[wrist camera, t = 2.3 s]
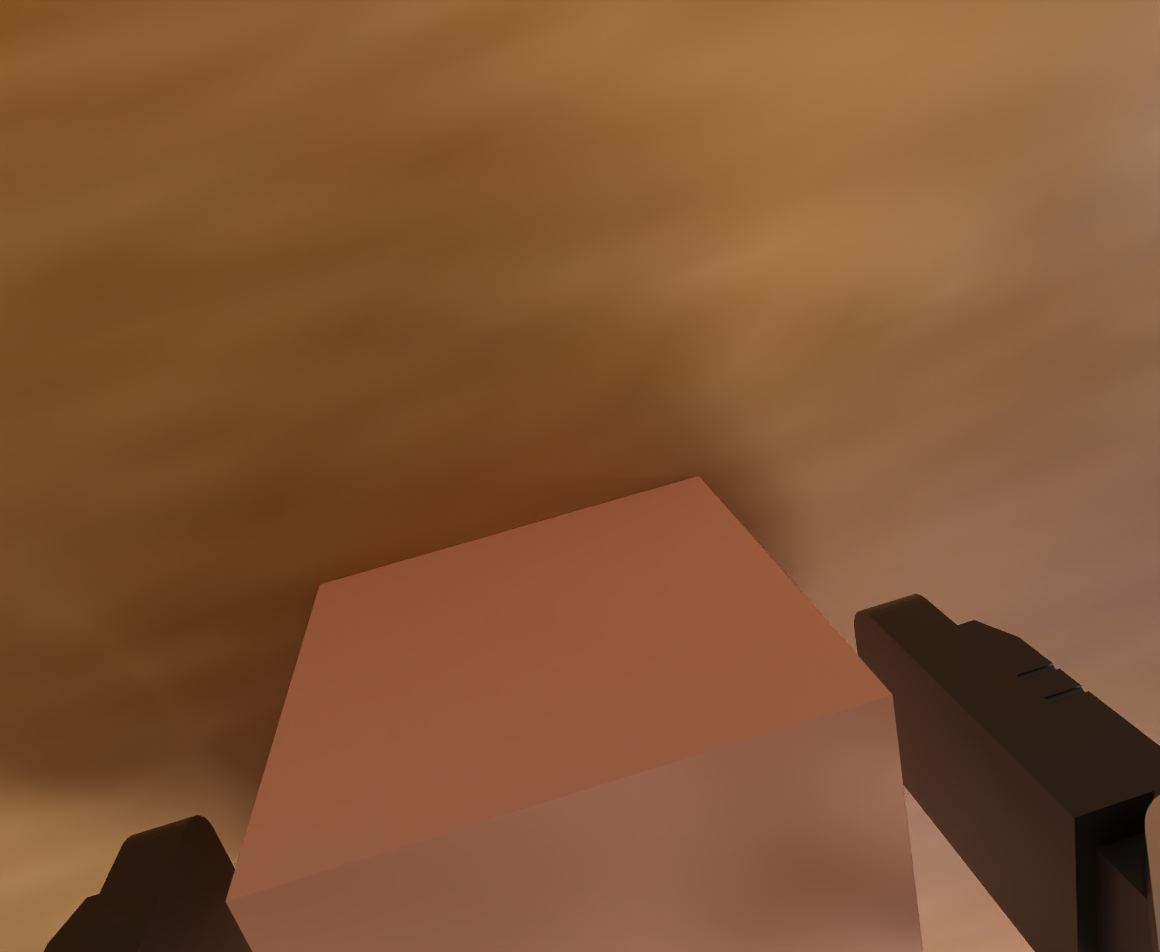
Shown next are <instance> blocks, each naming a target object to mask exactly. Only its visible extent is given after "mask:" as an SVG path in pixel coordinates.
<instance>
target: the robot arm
mask: <svg viewBox="0 0 1160 952" xmlns="http://www.w3.org/2000/svg"><path fill="white" fill-rule="evenodd" d="M854 629H855V637H856V644H857V651H858V656H859V657H860V658H861V660H862V661H863V662H864V663H865V664H866V665H867V666H868V667H869V669H870V670H871V671H872V672H873V673H874V674H875V675H876V676H877V678H878V679H879V680H880V681H881V682H882V683H883V684H884V686H885V687H886V688H887V689H888V690H889V691H890V692H891V693H892V695H893V703H894V712H895V720H896V729H897V737H898V745H899V754H900V762H901V771H902V779H903V784H904V786H905V787H906V788H907V789H908V791H909V792H910V793H911V795H912V796H913V797H914V798H915V800H916V801H917V802H918V803H919V805H920V806H921V807H922V809H923V810H924V811H925V812H926V814H927V815H928V816H929V817H930V819H931V820H932V821H933V823H934V824H935V825H936V826H937V828H938V829H939V830H940V831H941V833H942V834H943V835H944V837H945V838H946V839H947V840H948V842H949V843H950V844H951V845H952V847H953V848H954V849H955V851H956V852H957V853H958V854H959V856H960V857H961V858H962V859H963V861H964V862H965V863H966V865H967V866H968V867H969V868H970V870H971V871H972V872H973V873H974V875H975V876H976V877H977V879H978V880H979V881H980V882H981V884H982V885H983V886H984V887H985V889H986V890H987V891H988V893H989V894H990V895H991V896H992V898H993V899H994V900H995V901H996V903H997V904H998V905H999V907H1000V908H1001V909H1002V910H1003V912H1004V913H1005V914H1006V915H1007V917H1008V918H1009V919H1010V921H1011V922H1012V923H1013V924H1014V926H1015V927H1016V928H1017V930H1018V931H1019V932H1020V933H1021V935H1022V936H1023V937H1024V938H1025V940H1026V941H1027V942H1028V944H1029V945H1030V946H1031V947H1032V949H1033V950H1034V951H1035V952H1160V746H1159V745H1157V744H1156V743H1155V742H1154V741H1152V740H1151V739H1150V738H1148V737H1147V736H1146V735H1145V734H1143V733H1142V732H1141V731H1139V730H1138V729H1137V728H1135V727H1134V726H1133V725H1132V724H1130V723H1129V722H1128V721H1126V720H1125V719H1124V718H1123V717H1121V716H1120V715H1119V714H1117V713H1116V712H1115V711H1113V710H1112V709H1111V708H1110V707H1108V706H1107V705H1106V704H1104V703H1103V702H1102V701H1101V700H1099V699H1098V698H1097V697H1095V696H1094V695H1093V694H1092V693H1090V692H1089V691H1088V692H1084V691H1083V689H1082V687H1081V685H1080V684H1079V683H1077V682H1076V681H1075V680H1073V679H1072V678H1071V677H1070V676H1068V675H1067V674H1066V673H1064V672H1063V671H1062V670H1061V669H1057V670H1056V669H1055V668H1054V666H1053V663H1051V662H1050V661H1049V660H1048V659H1046V658H1045V657H1044V656H1042V655H1041V654H1040V653H1039V652H1037V651H1036V650H1035V649H1033V648H1032V647H1031V646H1029V645H1028V644H1027V643H1026V642H1024V641H1023V640H1022V639H1020V638H1019V637H1017V636H1014V635H1012V634H1009V633H1006V632H1004V631H1001V630H999V629H996V628H993V627H991V626H988V625H985V624H983V623H980V622H978V621H975V620H973V621H970V622H967V623H964V624H960V625H956V624H955V623H954V622H953V621H952V620H950V619H949V618H948V617H947V616H946V615H944V614H943V613H942V612H941V611H940V610H939V609H937V608H936V607H935V606H934V605H933V604H931V603H930V602H929V601H928V600H927V599H925V598H924V597H922V596H921V595H918V594H913V595H910V596H907V597H903V598H900V599H897V600H894V601H891V602H887V603H884V604H881V605H878V606H875V607H871V608H868V609H865V610H862V611H858V612H857V613H856V615H855V619H854ZM234 871H235V868H234V866H233V864H232V862H231V861H230V859H229V857H228V855H227V853H226V851H225V849H224V847H223V845H222V843H221V842H220V840H219V838H218V836H217V834H216V832H215V830H214V828H213V827H212V825H211V824H210V822H209V821H208V820H207V819H206V818H204V817H202V816H200V815H196V816H193V817H190V818H186V819H183V820H180V821H177V822H173V823H170V824H167V825H164V826H161V827H157V828H154V829H151V830H148V831H145V832H141V833H138V834H135V835H132V836H130V837H129V838H127V840H126V841H125V842H124V843H123V845H122V847H121V849H120V851H119V853H118V855H117V857H116V859H115V862H114V864H113V866H112V868H111V870H110V872H109V874H108V877H107V879H106V881H105V883H104V885H103V887H102V890H101V892H100V894H97V895H94V896H91V897H87V898H86V899H85V900H84V902H83V903H82V904H81V905H80V906H79V908H78V909H77V910H76V911H75V912H74V913H73V915H72V916H71V917H70V918H69V919H68V921H67V922H66V923H65V924H64V925H63V926H62V928H61V929H60V930H59V931H58V932H57V934H56V935H55V936H54V937H53V938H52V939H51V941H50V942H49V943H48V944H47V946H46V948H45V950H44V952H252V950H251V948H250V946H249V944H248V943H247V941H246V939H245V937H244V935H243V933H242V931H241V929H240V928H239V926H238V924H237V922H236V920H235V918H234V916H233V915H232V913H231V911H230V909H229V907H228V905H227V903H226V898H227V895H228V892H229V888H230V885H231V881H232V878H233V875H234Z"/></svg>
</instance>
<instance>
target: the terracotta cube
mask: <svg viewBox="0 0 1160 952" xmlns="http://www.w3.org/2000/svg"><path fill="white" fill-rule="evenodd" d="M226 903H227V905H228V907H229V909H230V911H231V913H232V915H233V916H234V918H235V920H236V922H237V924H238V926H239V928H240V929H241V931H242V933H243V935H244V937H245V939H246V941H247V943H248V944H249V946H250V948H251V950H252V952H923V948H922V939H921V931H920V922H919V914H918V906H917V897H916V889H915V880H914V872H913V863H912V855H911V847H910V838H909V830H908V821H907V813H906V804H905V796H904V788H903V779H902V771H901V762H900V754H899V745H898V737H897V729H896V720H895V712H894V703H893V695H892V693H891V692H890V691H889V690H888V689H887V688H886V687H885V686H884V684H883V683H882V682H881V681H880V680H879V679H878V678H877V676H876V675H875V674H874V673H873V672H872V671H871V670H870V669H869V667H868V666H867V665H866V664H865V663H864V662H863V661H862V660H861V658H860V657H859V656H858V655H857V654H856V653H855V652H854V651H853V649H852V648H851V647H850V646H849V645H848V644H847V643H846V641H845V640H844V639H843V638H842V637H841V636H840V635H839V634H838V632H837V631H836V630H835V629H834V628H833V627H832V626H831V625H830V623H829V622H828V621H827V620H826V619H825V618H824V617H823V616H822V614H821V613H820V612H819V611H818V610H817V609H816V608H815V606H814V605H813V604H812V603H811V602H810V601H809V600H808V599H807V597H806V596H805V595H804V594H803V593H802V592H801V591H800V590H799V588H798V587H797V586H796V585H795V584H794V583H793V582H792V581H791V579H790V578H789V577H788V576H787V575H786V574H785V573H784V571H783V570H782V569H781V568H780V567H779V566H778V565H777V564H776V562H775V561H774V560H773V559H772V558H771V557H770V556H769V555H768V553H767V552H766V551H765V550H764V549H763V548H762V547H761V546H760V544H759V543H758V542H757V541H756V540H755V539H754V538H753V536H752V535H751V534H750V533H749V532H748V531H747V530H746V529H745V527H744V526H743V525H742V524H741V523H740V522H739V521H738V520H737V518H736V517H735V516H734V515H733V514H732V513H731V512H730V511H729V509H728V508H727V507H726V506H725V505H724V504H723V503H722V501H721V500H720V499H719V498H718V497H717V496H716V495H715V494H714V492H713V491H712V490H711V489H710V488H709V487H708V486H707V485H706V483H705V482H704V481H703V480H702V479H701V478H700V477H699V476H696V477H693V478H689V479H686V480H682V481H679V482H675V483H672V484H668V485H665V486H661V487H658V488H654V489H651V490H647V491H644V492H640V493H637V494H633V495H630V496H626V497H623V498H620V499H616V500H613V501H609V502H606V503H602V504H599V505H595V506H592V507H588V508H585V509H581V510H578V511H574V512H571V513H567V514H564V515H560V516H557V517H553V518H550V519H546V520H543V521H539V522H536V523H532V524H529V525H525V526H522V527H518V528H515V529H511V530H508V531H504V532H501V533H497V534H494V535H490V536H487V537H483V538H480V539H476V540H473V541H469V542H466V543H463V544H459V545H456V546H452V547H449V548H445V549H442V550H438V551H435V552H431V553H428V554H424V555H421V556H417V557H414V558H410V559H407V560H403V561H400V562H396V563H393V564H389V565H386V566H382V567H379V568H375V569H372V570H368V571H365V572H361V573H358V574H354V575H351V576H347V577H344V578H340V579H337V580H333V581H330V582H326V583H323V584H320V585H319V589H318V592H317V595H316V599H315V602H314V605H313V609H312V612H311V616H310V619H309V622H308V626H307V629H306V632H305V636H304V639H303V643H302V646H301V649H300V653H299V656H298V659H297V663H296V666H295V669H294V673H293V676H292V680H291V683H290V686H289V690H288V693H287V696H286V700H285V703H284V706H283V710H282V713H281V717H280V720H279V723H278V727H277V730H276V733H275V737H274V740H273V743H272V747H271V750H270V754H269V757H268V760H267V764H266V767H265V770H264V774H263V777H262V781H261V784H260V787H259V791H258V794H257V797H256V801H255V804H254V807H253V811H252V814H251V818H250V821H249V824H248V828H247V831H246V834H245V838H244V841H243V844H242V848H241V851H240V855H239V858H238V861H237V865H236V868H235V871H234V875H233V878H232V881H231V885H230V888H229V892H228V895H227V898H226Z"/></svg>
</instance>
